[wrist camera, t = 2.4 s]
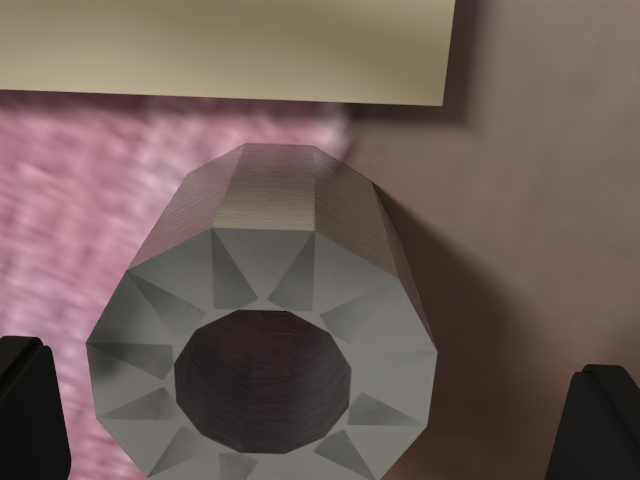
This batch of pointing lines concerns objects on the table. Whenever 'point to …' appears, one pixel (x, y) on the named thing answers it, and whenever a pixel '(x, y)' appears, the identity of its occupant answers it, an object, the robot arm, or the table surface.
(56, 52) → the hub board
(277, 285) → the steel collar
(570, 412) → the robot arm
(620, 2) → the table surface
